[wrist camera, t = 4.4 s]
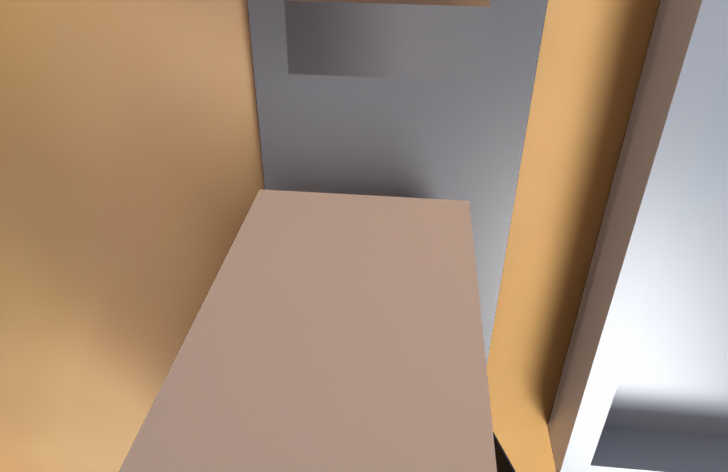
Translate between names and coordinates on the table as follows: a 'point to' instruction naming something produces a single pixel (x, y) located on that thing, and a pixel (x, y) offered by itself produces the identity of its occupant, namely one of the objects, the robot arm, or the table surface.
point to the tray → (658, 272)
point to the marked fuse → (332, 346)
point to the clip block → (401, 105)
